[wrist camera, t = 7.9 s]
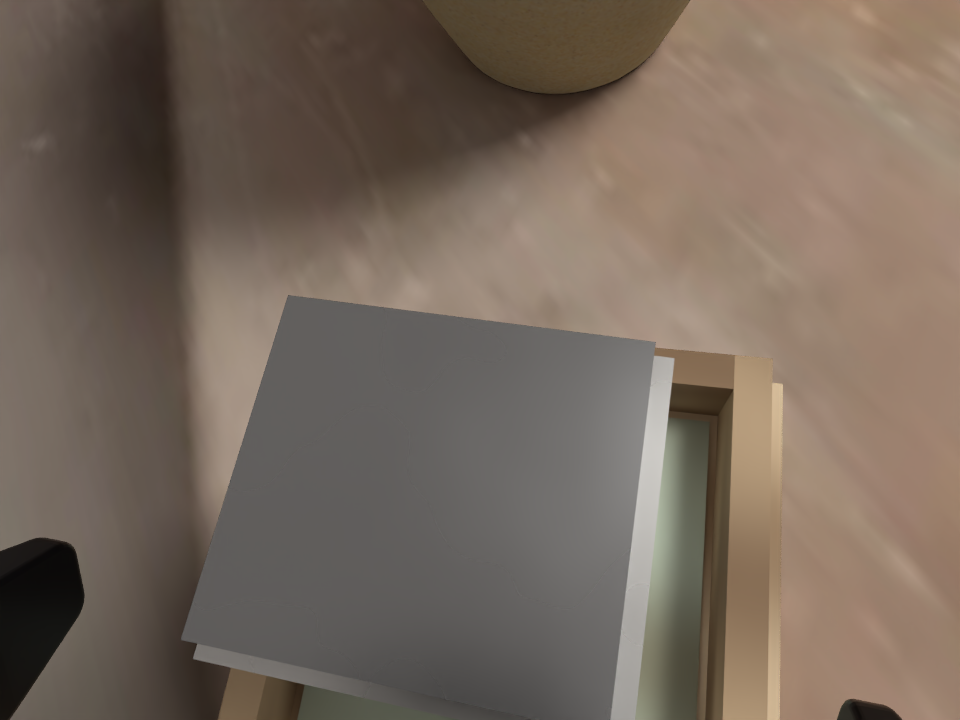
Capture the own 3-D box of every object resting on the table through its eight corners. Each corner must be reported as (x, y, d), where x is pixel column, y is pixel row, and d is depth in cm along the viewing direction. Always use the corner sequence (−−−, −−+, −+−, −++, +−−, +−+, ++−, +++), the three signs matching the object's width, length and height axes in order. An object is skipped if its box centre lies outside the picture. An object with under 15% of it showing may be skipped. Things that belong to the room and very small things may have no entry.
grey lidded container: (602, 704, 16) (638, 773, 7) (381, 656, 17) (146, 659, 8) (627, 498, 18) (685, 325, 8) (424, 465, 18) (271, 274, 9)
